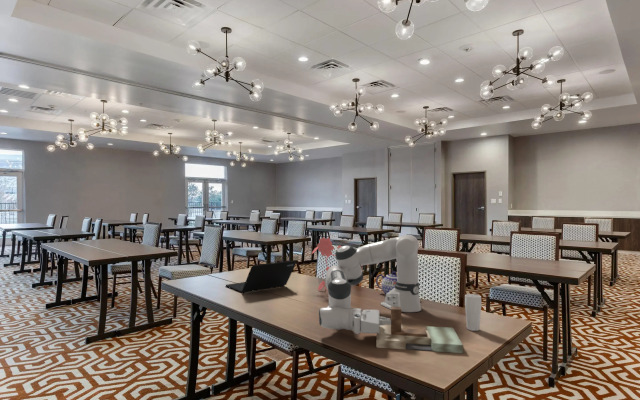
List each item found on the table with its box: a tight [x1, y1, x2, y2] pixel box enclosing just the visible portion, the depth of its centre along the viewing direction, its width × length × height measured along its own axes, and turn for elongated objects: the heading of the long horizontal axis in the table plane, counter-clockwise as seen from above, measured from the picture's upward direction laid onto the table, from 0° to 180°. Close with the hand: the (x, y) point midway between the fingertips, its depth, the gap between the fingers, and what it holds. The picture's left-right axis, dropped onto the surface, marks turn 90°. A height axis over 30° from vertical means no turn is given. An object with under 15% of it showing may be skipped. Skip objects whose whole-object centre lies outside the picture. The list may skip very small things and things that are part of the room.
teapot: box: [375, 270, 397, 295], centre depth 228 cm, size 25×15×15 cm, turn 48°
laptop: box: [225, 260, 298, 293], centre depth 246 cm, size 33×38×19 cm
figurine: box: [311, 236, 342, 292], centre depth 233 cm, size 15×26×35 cm, turn 51°
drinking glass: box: [464, 293, 482, 332], centre depth 166 cm, size 7×7×15 cm
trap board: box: [375, 324, 464, 354], centre depth 152 cm, size 32×20×3 cm, turn 81°
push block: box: [390, 307, 427, 337], centre depth 152 cm, size 14×6×10 cm, turn 81°
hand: (391, 321), depth 152 cm, fingers closed, pressing on push block
